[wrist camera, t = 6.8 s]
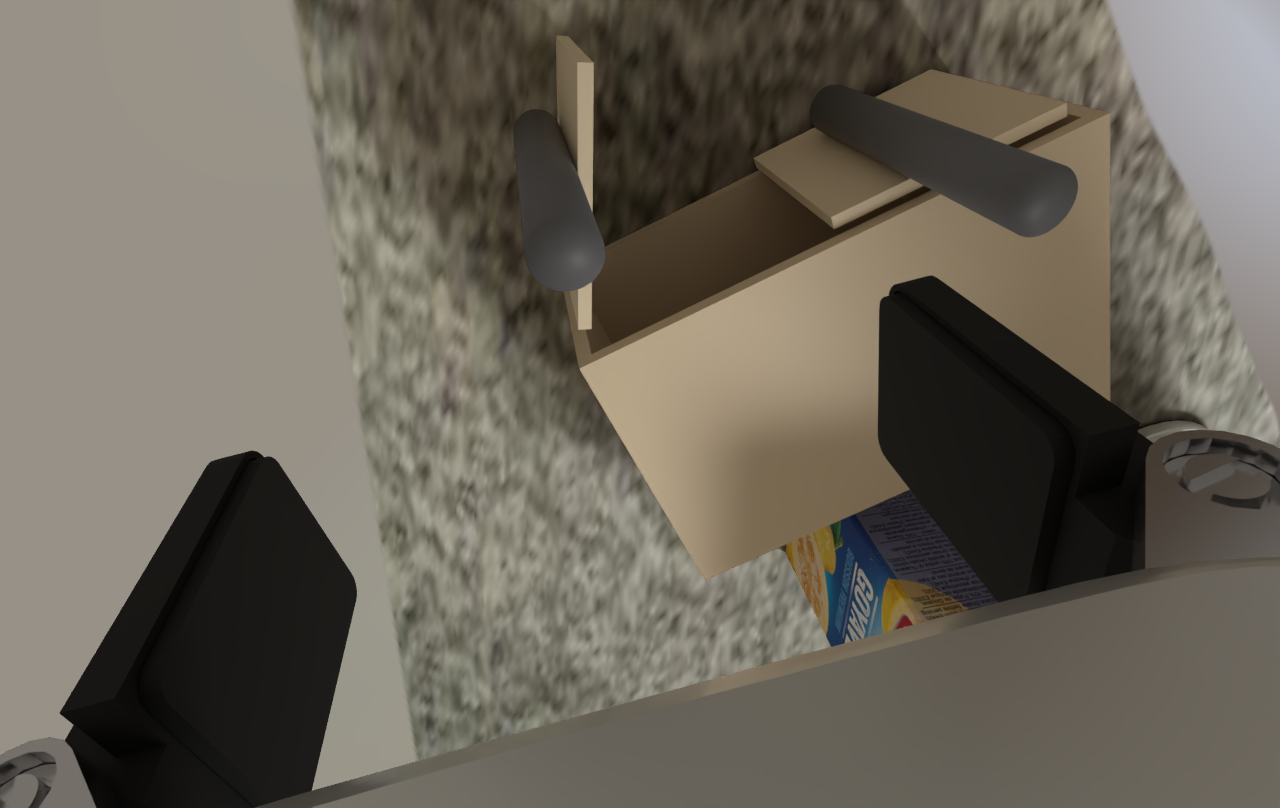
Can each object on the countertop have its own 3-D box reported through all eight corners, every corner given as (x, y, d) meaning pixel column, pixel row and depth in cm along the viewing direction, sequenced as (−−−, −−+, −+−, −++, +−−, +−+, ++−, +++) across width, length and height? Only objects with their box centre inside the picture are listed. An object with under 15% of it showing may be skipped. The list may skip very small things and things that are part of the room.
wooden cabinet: (983, 310, 40) (1110, 401, 31) (664, 458, 42) (705, 580, 33) (951, 73, 32) (1110, 112, 24) (559, 269, 34) (579, 368, 25)
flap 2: (932, 79, 31) (1231, 160, 19) (756, 167, 32) (927, 302, 19) (924, 25, 30) (1240, 71, 17) (740, 118, 31) (913, 228, 18)
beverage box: (785, 553, 48) (956, 904, 30) (797, 431, 42) (1020, 781, 24) (874, 537, 49) (1092, 871, 31) (898, 416, 43) (1187, 743, 25)
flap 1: (567, 35, 28) (628, 98, 15) (570, 245, 33) (617, 427, 20) (507, 33, 27) (517, 96, 15) (519, 246, 32) (533, 432, 19)
